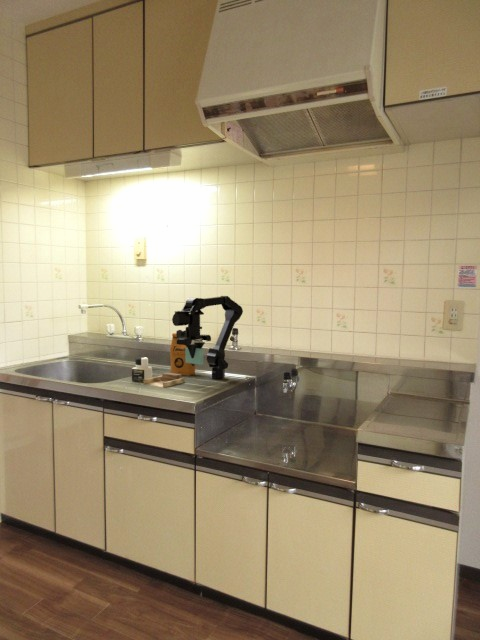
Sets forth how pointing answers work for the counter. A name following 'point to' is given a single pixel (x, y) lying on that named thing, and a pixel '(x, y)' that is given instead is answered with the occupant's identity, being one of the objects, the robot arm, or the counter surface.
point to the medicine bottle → (141, 370)
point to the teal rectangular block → (197, 357)
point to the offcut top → (171, 375)
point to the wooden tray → (162, 382)
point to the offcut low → (167, 379)
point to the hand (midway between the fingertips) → (194, 357)
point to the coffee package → (179, 359)
